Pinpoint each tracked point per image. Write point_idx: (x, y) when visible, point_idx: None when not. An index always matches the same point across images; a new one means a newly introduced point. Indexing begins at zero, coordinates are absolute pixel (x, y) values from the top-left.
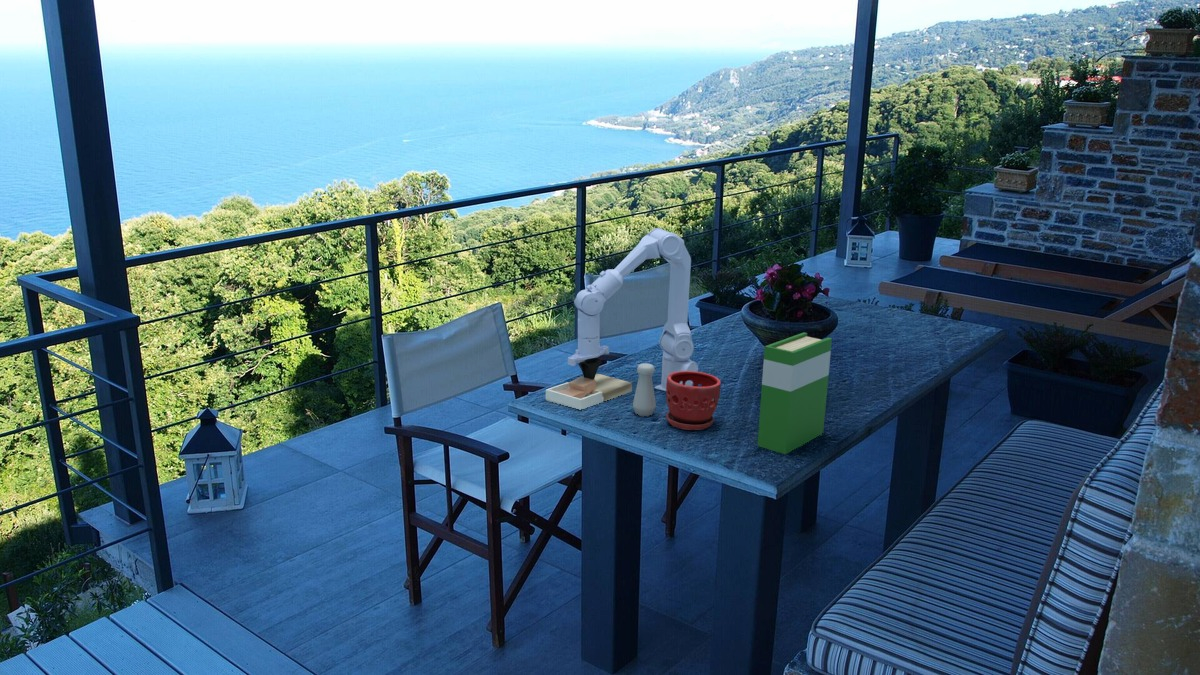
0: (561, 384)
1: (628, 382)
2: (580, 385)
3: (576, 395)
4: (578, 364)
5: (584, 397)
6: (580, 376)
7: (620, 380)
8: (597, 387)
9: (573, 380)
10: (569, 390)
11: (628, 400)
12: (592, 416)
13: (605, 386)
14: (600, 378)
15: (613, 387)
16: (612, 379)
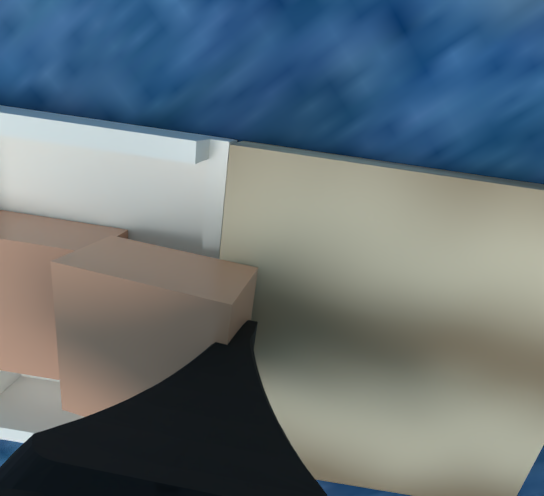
0: (103, 132)
1: (503, 493)
2: (65, 378)
3: (6, 366)
4: (68, 426)
5: (9, 428)
6: (216, 300)
7: (529, 439)
8: (276, 383)
9: (108, 276)
10: (32, 283)
11: (322, 487)
12: (10, 448)
13: (331, 415)
14: (514, 301)
15: (343, 460)
16: (529, 386)
